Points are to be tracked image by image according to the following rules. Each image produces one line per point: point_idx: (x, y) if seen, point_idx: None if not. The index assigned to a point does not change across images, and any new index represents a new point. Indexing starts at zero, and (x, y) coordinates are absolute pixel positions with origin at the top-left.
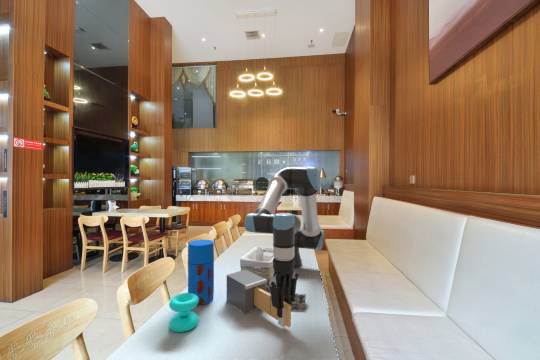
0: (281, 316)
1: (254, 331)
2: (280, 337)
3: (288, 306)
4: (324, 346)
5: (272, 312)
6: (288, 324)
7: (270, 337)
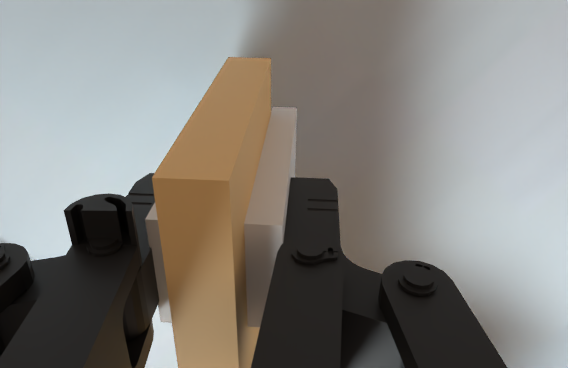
0: (304, 183)
1: (487, 260)
2: (392, 44)
3: (227, 176)
4: None
5: None
6: (264, 67)
7: (461, 111)
